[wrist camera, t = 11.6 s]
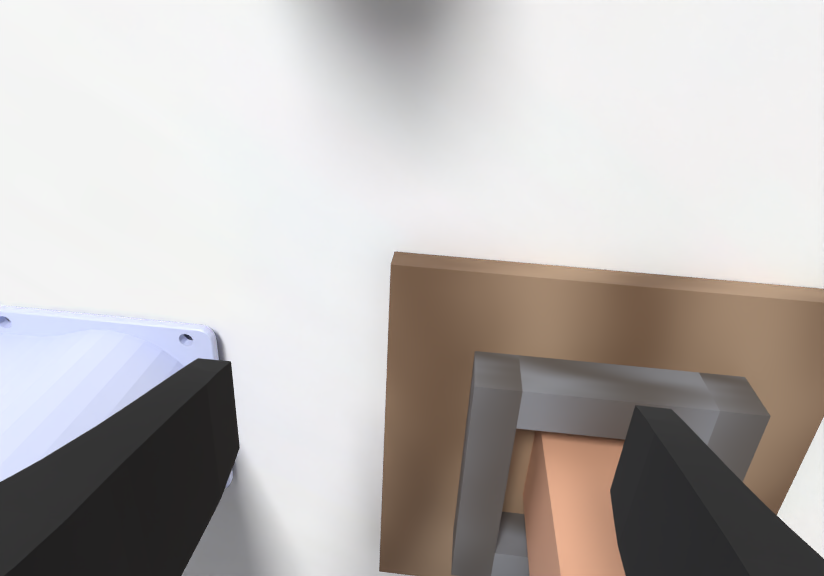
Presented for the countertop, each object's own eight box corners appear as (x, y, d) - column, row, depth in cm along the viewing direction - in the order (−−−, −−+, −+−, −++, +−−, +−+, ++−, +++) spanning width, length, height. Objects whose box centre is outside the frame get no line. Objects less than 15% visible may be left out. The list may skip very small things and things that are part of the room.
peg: (522, 494, 23) (542, 719, 16) (538, 414, 22) (568, 629, 14) (626, 506, 23) (691, 740, 16) (652, 426, 21) (738, 651, 14)
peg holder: (382, 552, 27) (372, 614, 25) (394, 251, 20) (382, 293, 18) (721, 592, 26) (748, 661, 24) (857, 291, 19) (918, 342, 17)
